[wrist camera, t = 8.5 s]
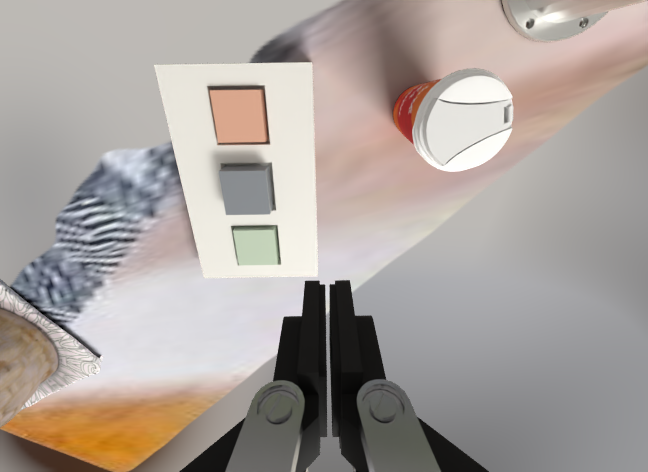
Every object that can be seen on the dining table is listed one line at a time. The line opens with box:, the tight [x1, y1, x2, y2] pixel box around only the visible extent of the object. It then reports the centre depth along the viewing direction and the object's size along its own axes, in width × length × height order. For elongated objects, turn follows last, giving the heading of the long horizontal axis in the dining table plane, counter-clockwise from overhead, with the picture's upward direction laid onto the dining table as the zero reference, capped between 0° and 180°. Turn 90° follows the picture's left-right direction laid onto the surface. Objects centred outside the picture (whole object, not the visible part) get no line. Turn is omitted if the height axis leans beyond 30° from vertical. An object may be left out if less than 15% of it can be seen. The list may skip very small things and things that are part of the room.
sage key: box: [233, 225, 280, 265], centre depth 40 cm, size 5×5×2 cm
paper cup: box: [393, 68, 513, 172], centre depth 29 cm, size 8×8×14 cm
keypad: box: [154, 62, 318, 278], centre depth 37 cm, size 16×26×3 cm, turn 1°
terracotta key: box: [210, 89, 269, 143], centre depth 33 cm, size 5×5×2 cm
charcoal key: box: [218, 166, 273, 215], centre depth 35 cm, size 5×5×2 cm
